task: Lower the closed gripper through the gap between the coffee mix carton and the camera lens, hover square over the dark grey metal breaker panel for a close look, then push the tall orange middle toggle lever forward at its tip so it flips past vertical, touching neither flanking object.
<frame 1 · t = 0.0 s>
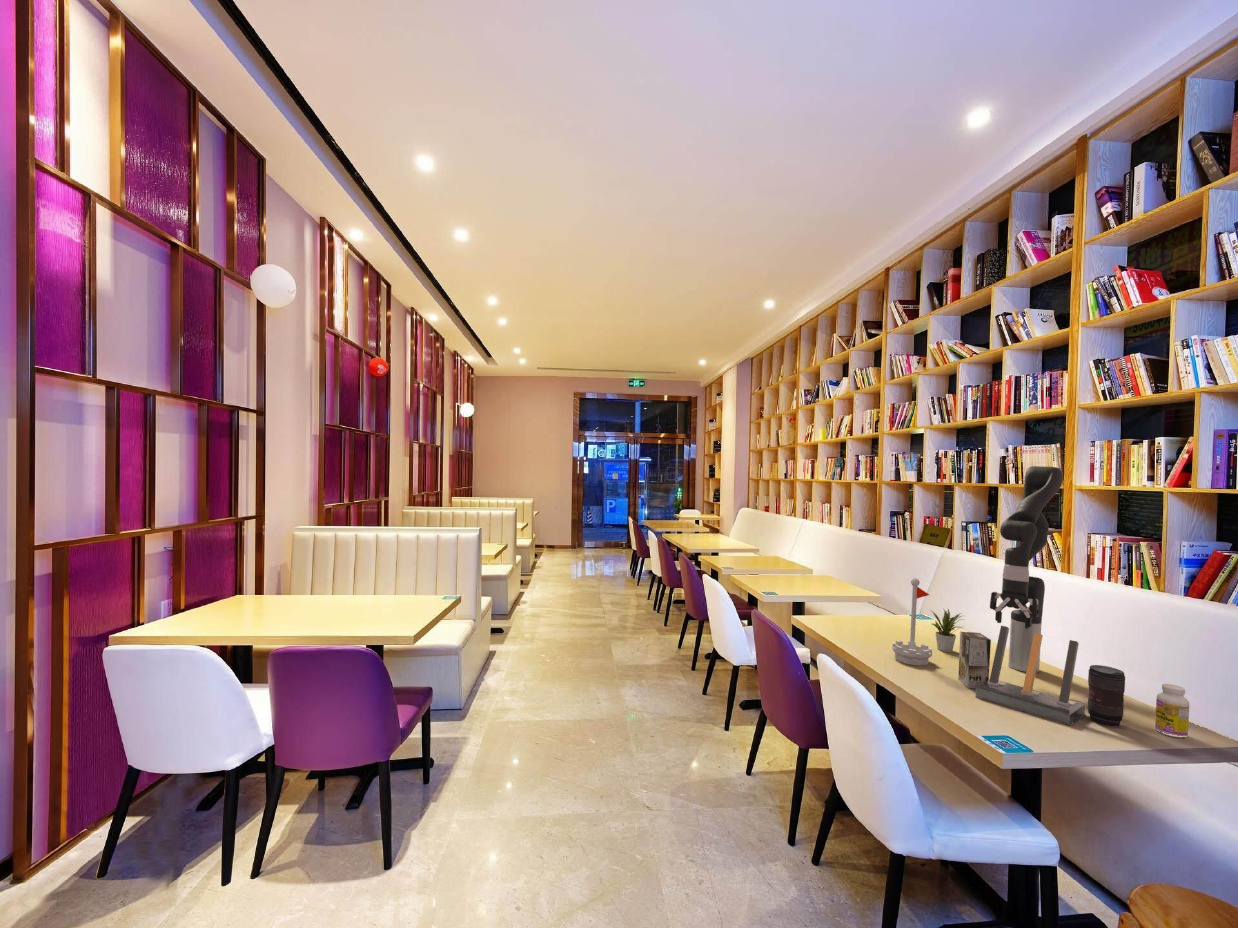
hand: (1012, 625, 209), 17 cm above the table, tool pointing down, fingers open, 8 cm apart
flag stand: (911, 660, 221), on the table
coffee box: (972, 685, 197), on the table
breaker panel: (1028, 705, 181), on the table
supplement bottle: (1171, 734, 165), on the table
lever mid: (1032, 664, 182), point 12 cm above the table, hinge at -25.0°
lever high: (1068, 673, 175), point 12 cm above the table, hinge at -25.0°
camera lens: (1104, 722, 171), on the table
lever low: (999, 656, 189), point 12 cm above the table, hinge at -25.0°
house plant: (948, 651, 235), on the table
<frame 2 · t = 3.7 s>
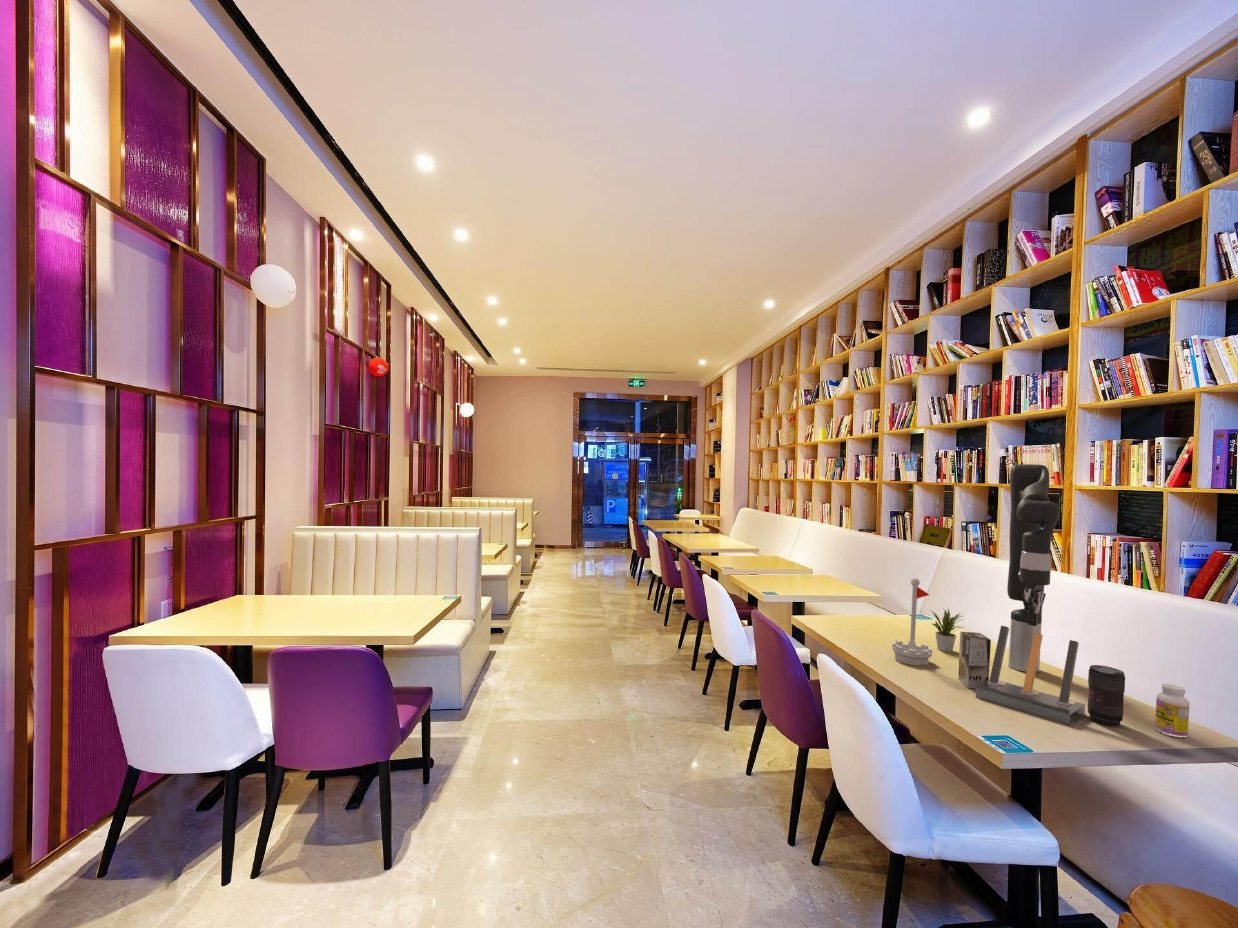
hand: (1032, 625, 181), 24 cm above the table, tool pointing down, fingers closed
nothing on the table moved.
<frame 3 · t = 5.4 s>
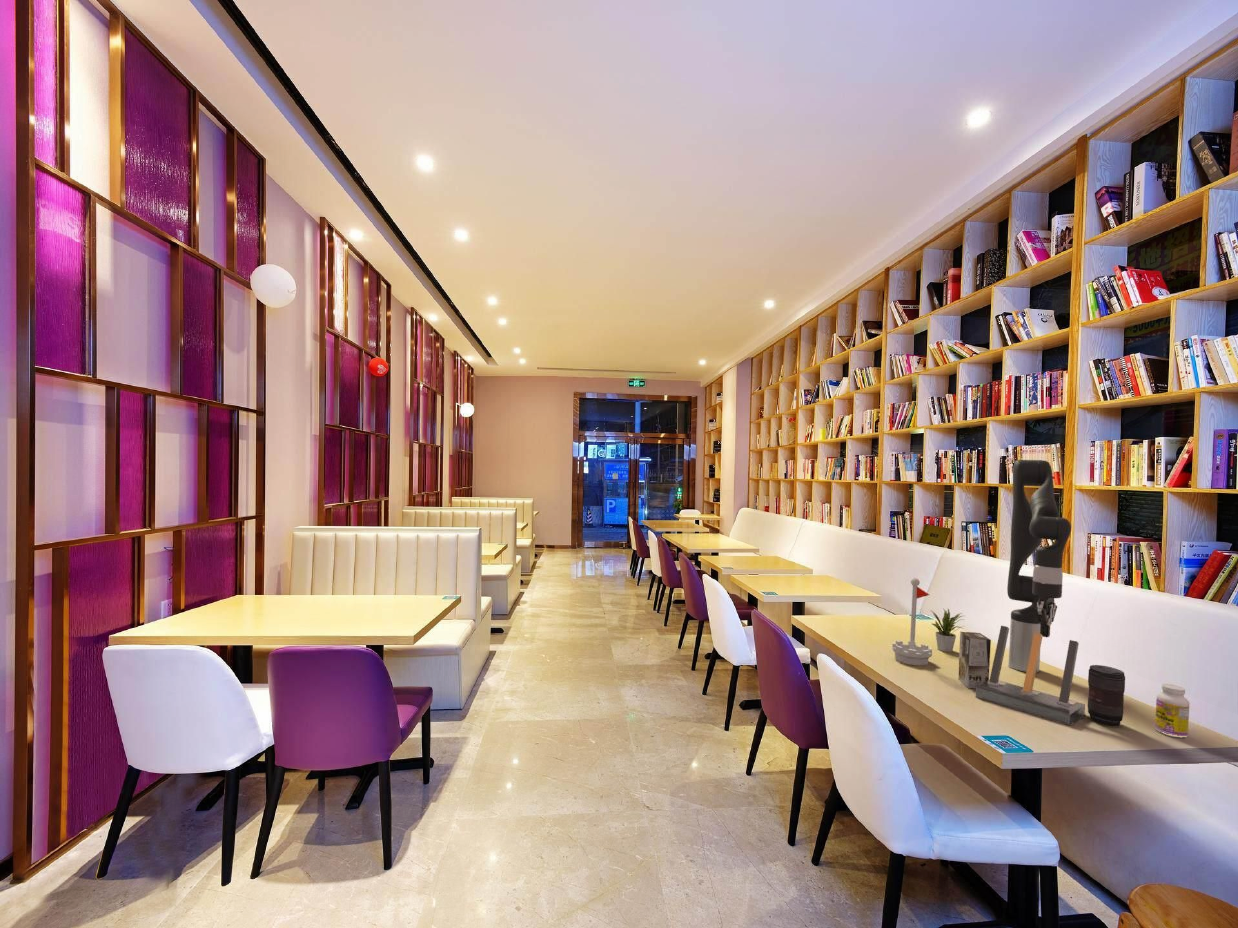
hand: (1044, 636, 188), 19 cm above the table, tool pointing down, fingers closed
nothing on the table moved.
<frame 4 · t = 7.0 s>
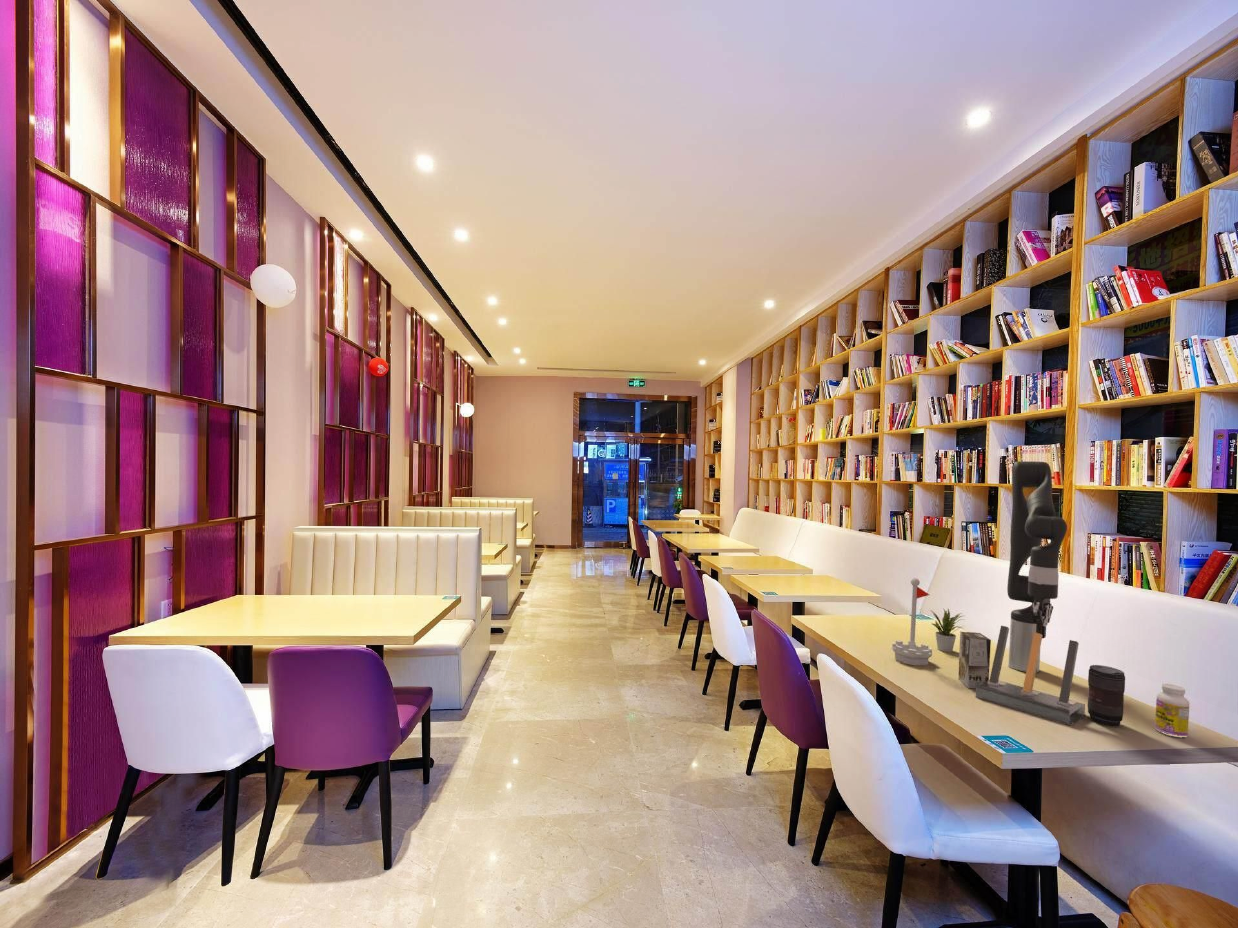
hand: (1040, 637, 186), 19 cm above the table, tool pointing down, fingers closed
lever mid: (1032, 664, 182), point 12 cm above the table, hinge at -24.5°, touching gripper
everything else where it was.
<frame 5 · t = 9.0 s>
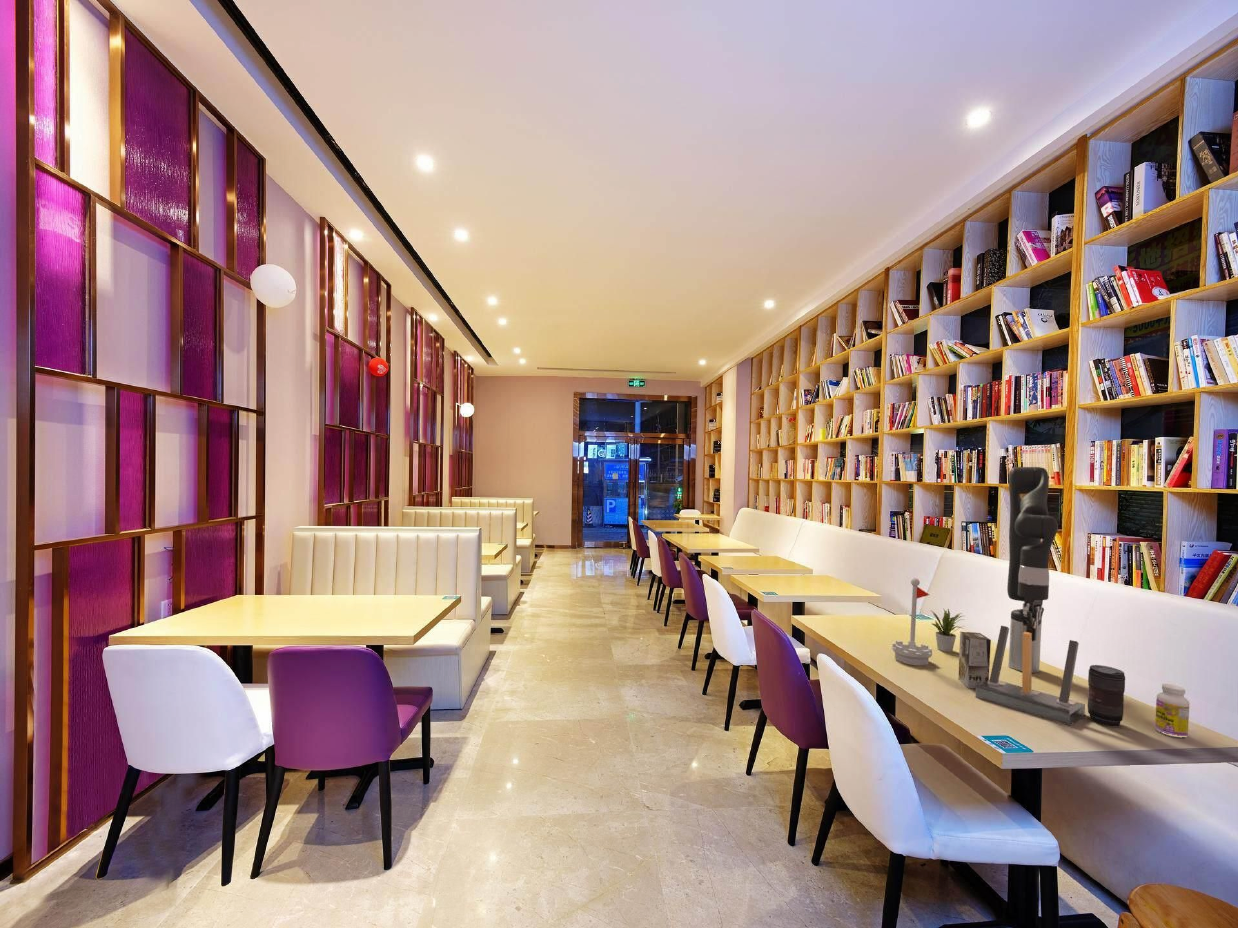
hand: (1030, 640, 180), 20 cm above the table, tool pointing down, fingers closed
lever mid: (1027, 664, 179), point 13 cm above the table, hinge at 6.9°, touching gripper
everything else where it was.
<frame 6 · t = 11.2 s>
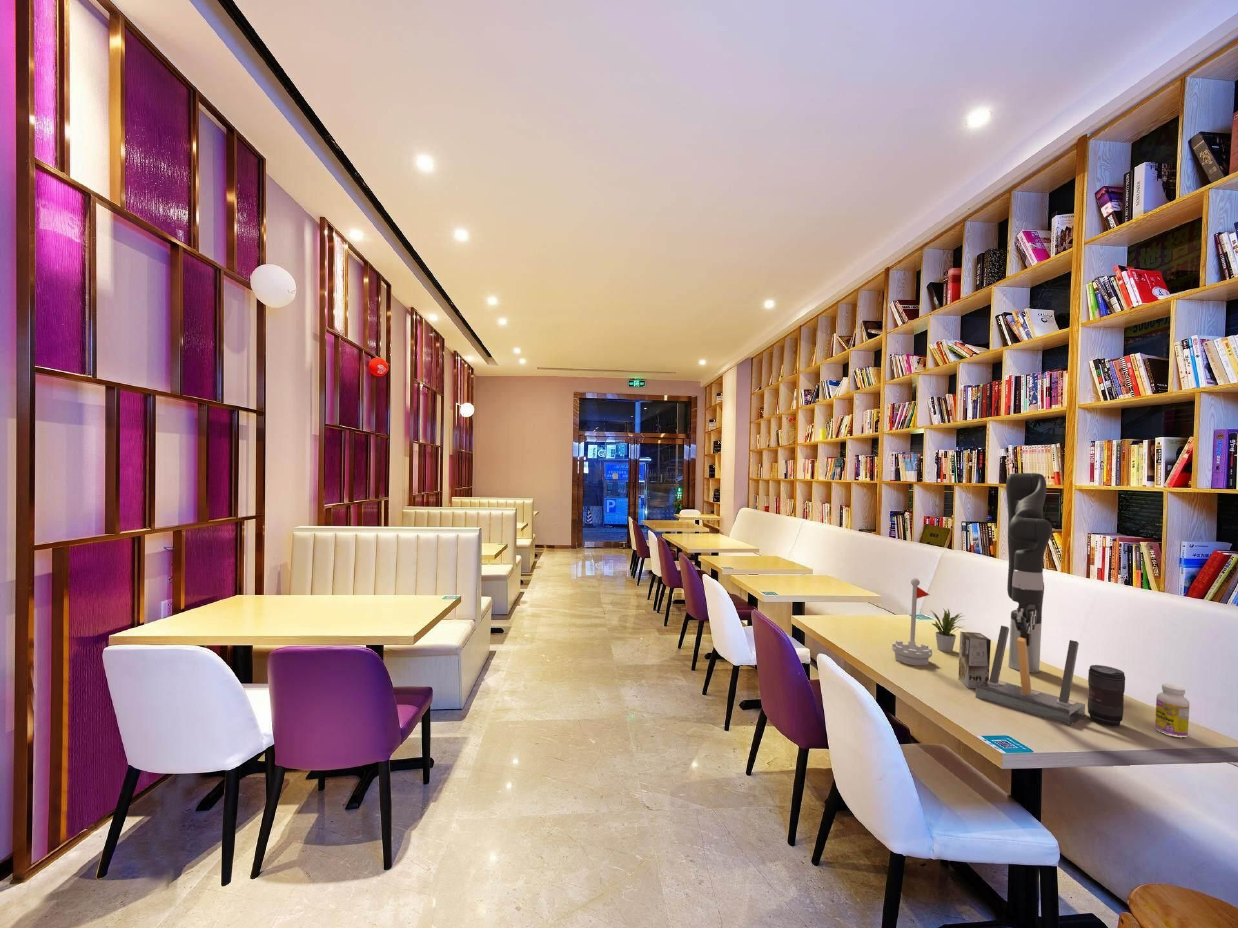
hand: (1024, 645, 177), 19 cm above the table, tool pointing down, fingers closed
lever mid: (1024, 667, 177), point 12 cm above the table, hinge at 21.9°, touching gripper
everything else where it was.
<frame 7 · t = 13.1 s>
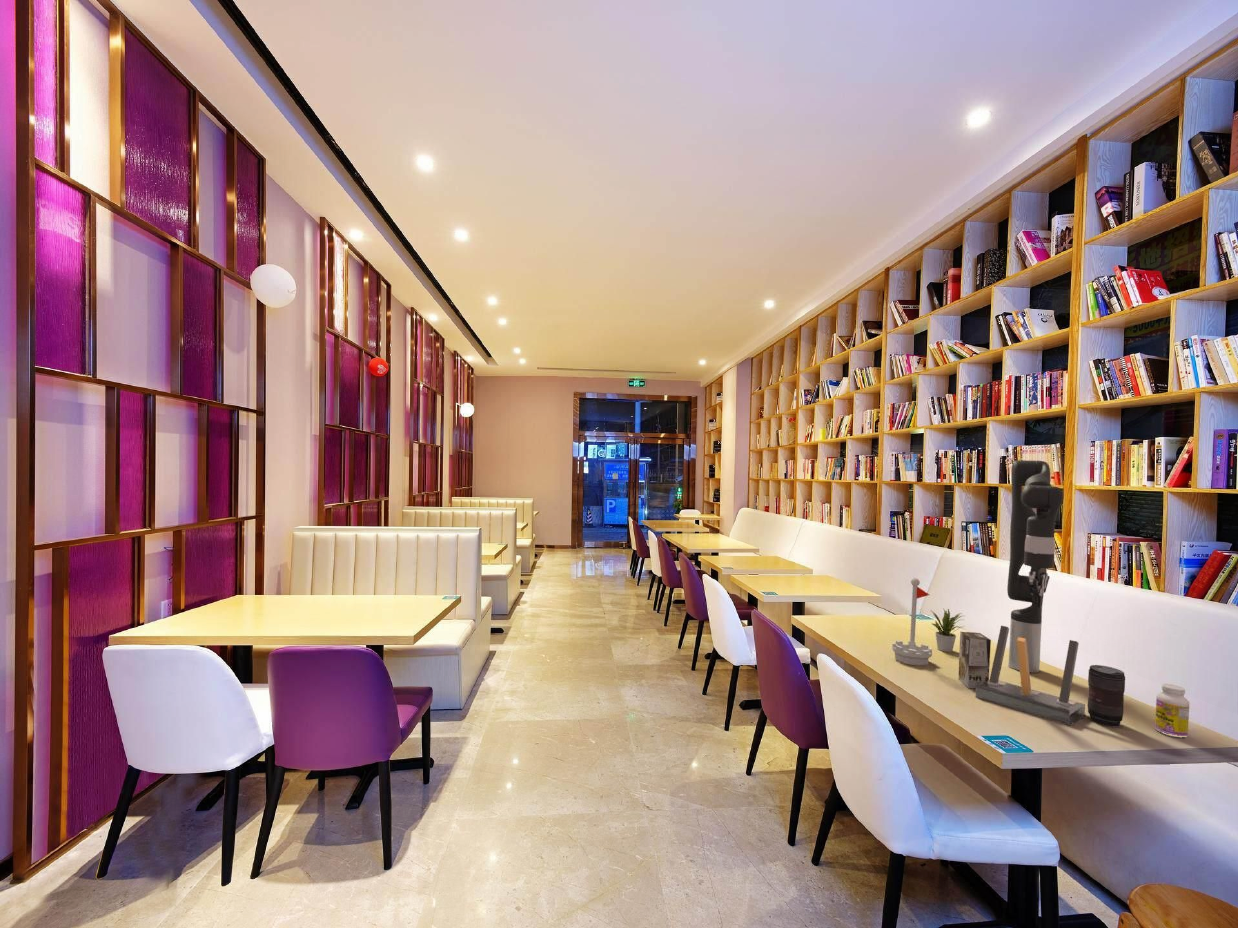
hand: (1036, 607, 185), 29 cm above the table, tool pointing down, fingers closed
lever mid: (1024, 667, 177), point 12 cm above the table, hinge at 22.0°
everything else where it was.
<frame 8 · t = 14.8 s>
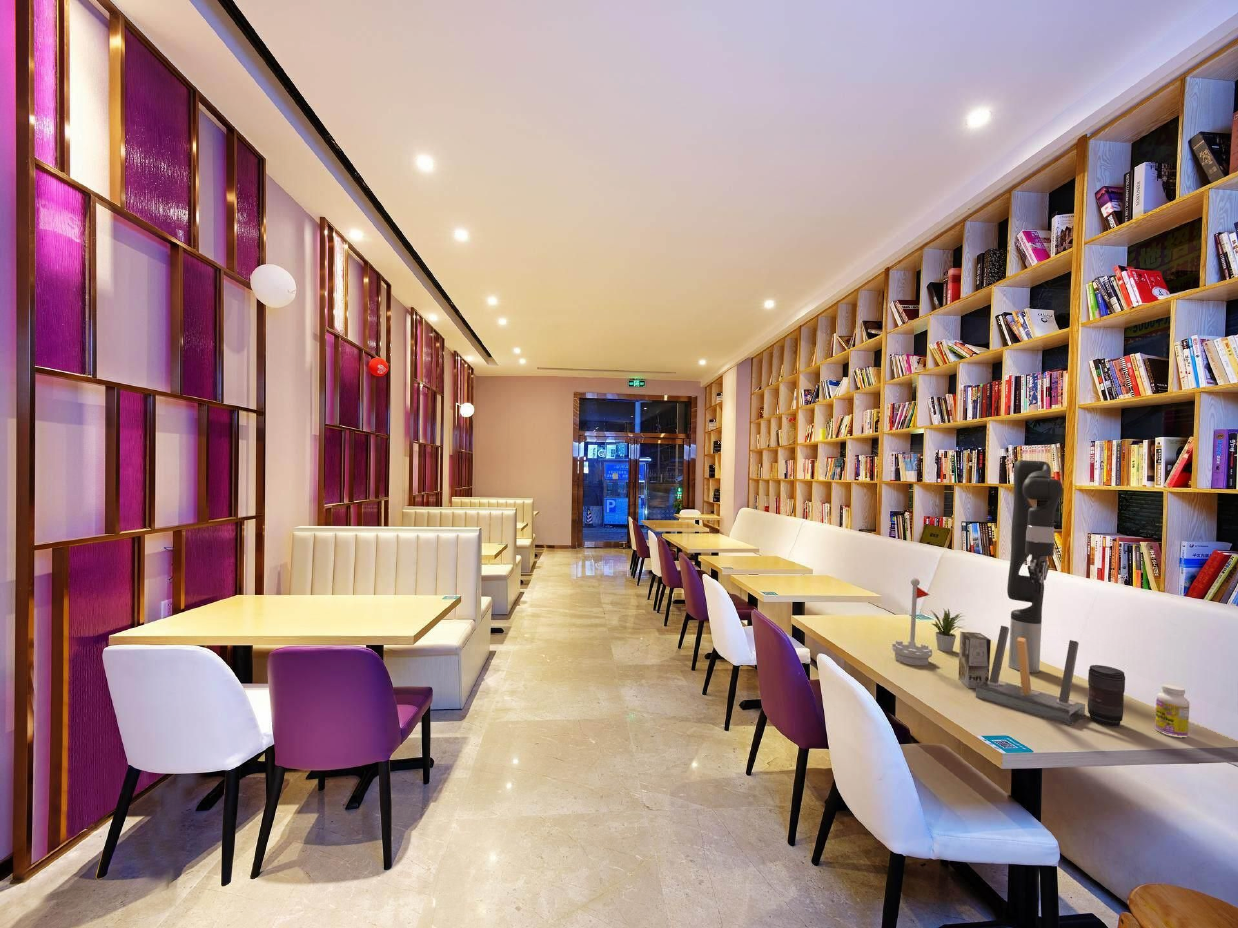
hand: (1037, 593, 195), 31 cm above the table, tool pointing down, fingers closed
nothing on the table moved.
at the end: lever mid at +22° (first picture: -25°); coffee box moved 0.3 cm from its start; camera lens moved 0.2 cm from its start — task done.
